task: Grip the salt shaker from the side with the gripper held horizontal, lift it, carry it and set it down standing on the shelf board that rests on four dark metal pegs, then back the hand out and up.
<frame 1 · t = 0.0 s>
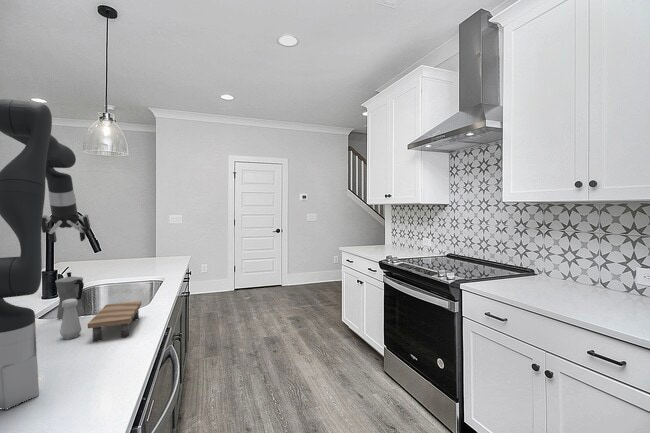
hand: (68, 241, 126), 31 cm above the table, tool tilted 20°, fingers open, 8 cm apart
coffeepot: (72, 316, 133), on the table
salt shaker: (71, 337, 112), on the table
peg shelf: (117, 328, 119), on the table
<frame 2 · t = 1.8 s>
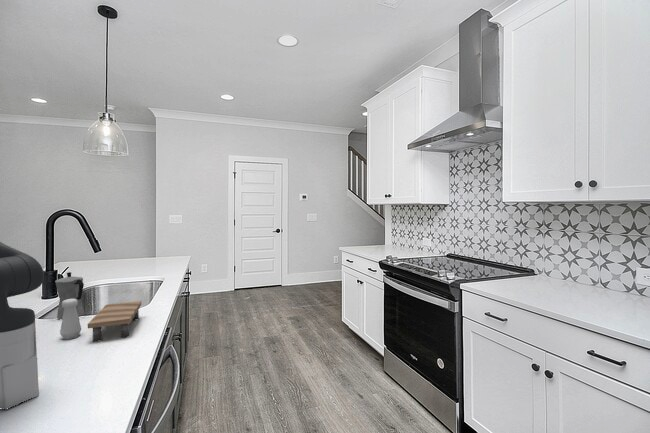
hand: (27, 284, 107), 20 cm above the table, tool horizontal, fingers open, 8 cm apart
nothing on the table moved.
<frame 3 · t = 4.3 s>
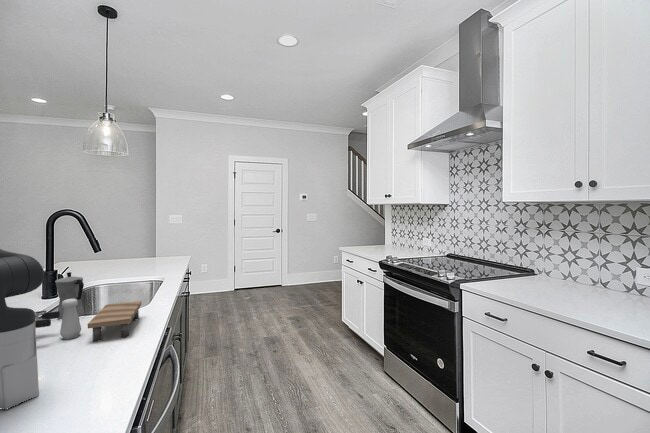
hand: (55, 318, 110), 7 cm above the table, tool horizontal, fingers open, 8 cm apart
nothing on the table moved.
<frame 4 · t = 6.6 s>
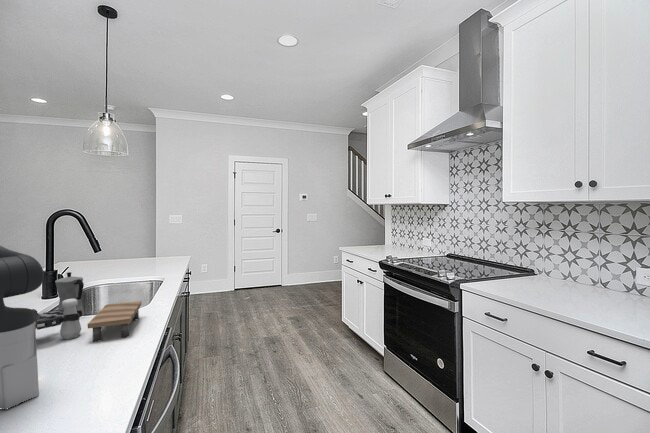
hand: (80, 314, 113), 7 cm above the table, tool horizontal, fingers closed on salt shaker, 3 cm apart
salt shaker: (71, 337, 112), on the table, touching gripper
everything else where it was.
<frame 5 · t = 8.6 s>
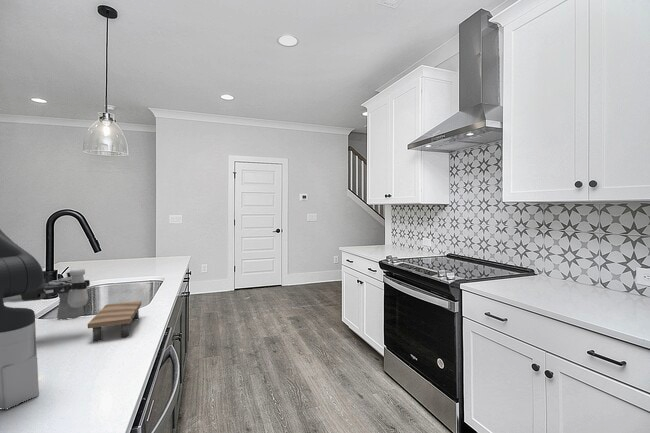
hand: (87, 284, 113), 18 cm above the table, tool horizontal, fingers closed on salt shaker, 3 cm apart
salt shaker: (78, 306, 113), point 10 cm above the table, touching gripper
everything else where it was.
when the fingers open (15 cm above the table, at t = 10.7 s): salt shaker drops 1 cm, resting on peg shelf.
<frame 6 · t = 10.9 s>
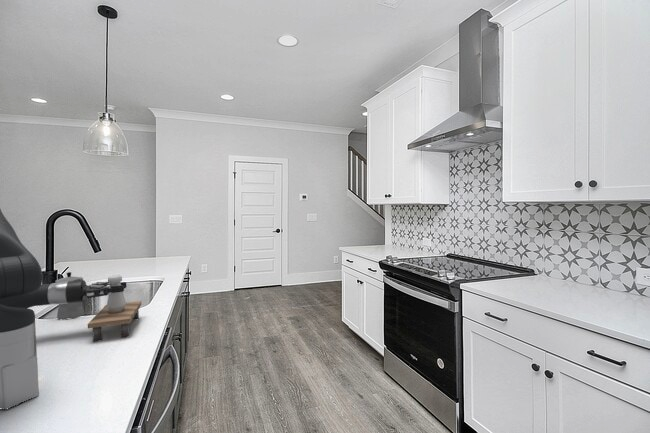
hand: (124, 286, 119), 15 cm above the table, tool horizontal, fingers open, 4 cm apart
salt shaker: (116, 311, 118), point 6 cm above the table, touching peg shelf
everything else where it was.
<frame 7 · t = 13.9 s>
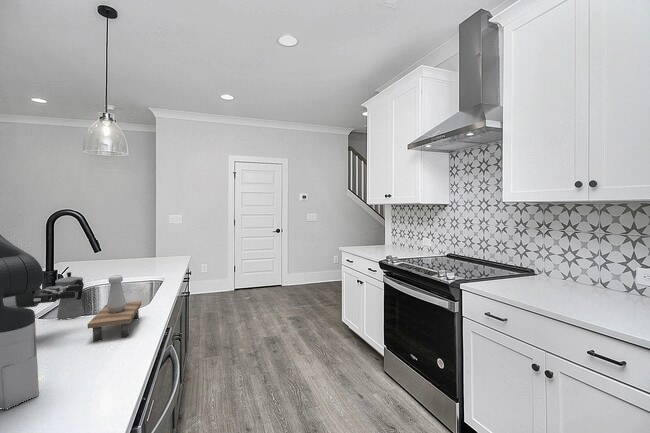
hand: (79, 291, 114), 15 cm above the table, tool horizontal, fingers open, 8 cm apart
nothing on the table moved.
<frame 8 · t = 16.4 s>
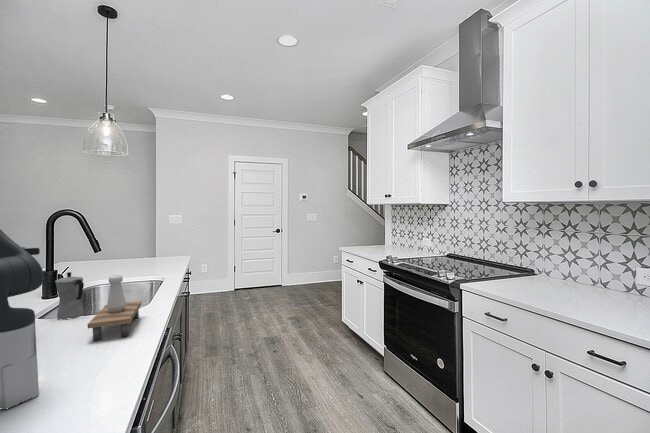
hand: (33, 252, 105), 30 cm above the table, tool horizontal, fingers open, 8 cm apart
nothing on the table moved.
at the end: salt shaker inside the target area on the peg shelf (0.1 cm from its centre), point 6.3 cm above the peg shelf's base; salt shaker tilted 0°; the gripper is holding nothing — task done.
